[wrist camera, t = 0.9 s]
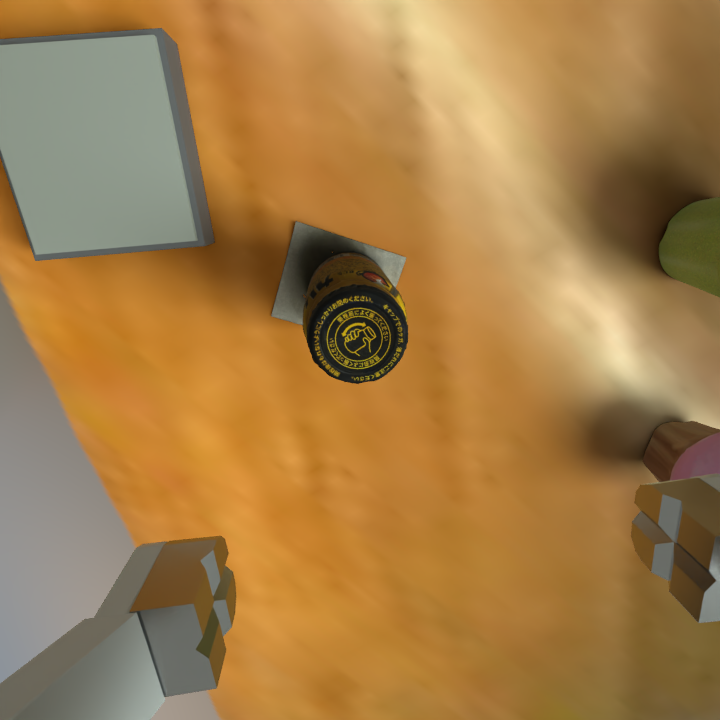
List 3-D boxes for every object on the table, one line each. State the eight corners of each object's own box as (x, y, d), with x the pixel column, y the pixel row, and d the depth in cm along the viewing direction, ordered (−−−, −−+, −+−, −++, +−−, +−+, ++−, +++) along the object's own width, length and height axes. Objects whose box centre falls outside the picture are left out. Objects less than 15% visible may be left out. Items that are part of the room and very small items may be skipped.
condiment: (375, 345, 35) (397, 414, 23) (271, 315, 33) (242, 373, 22) (406, 257, 32) (447, 285, 21) (296, 220, 31) (278, 230, 20)
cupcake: (612, 481, 41) (697, 564, 31) (633, 398, 38) (734, 463, 28) (700, 479, 41) (809, 559, 32) (728, 397, 38) (857, 459, 29)
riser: (-5, 56, 26) (-45, 39, 24) (177, 44, 27) (159, 25, 24) (58, 256, 30) (31, 261, 28) (214, 242, 31) (203, 246, 28)
